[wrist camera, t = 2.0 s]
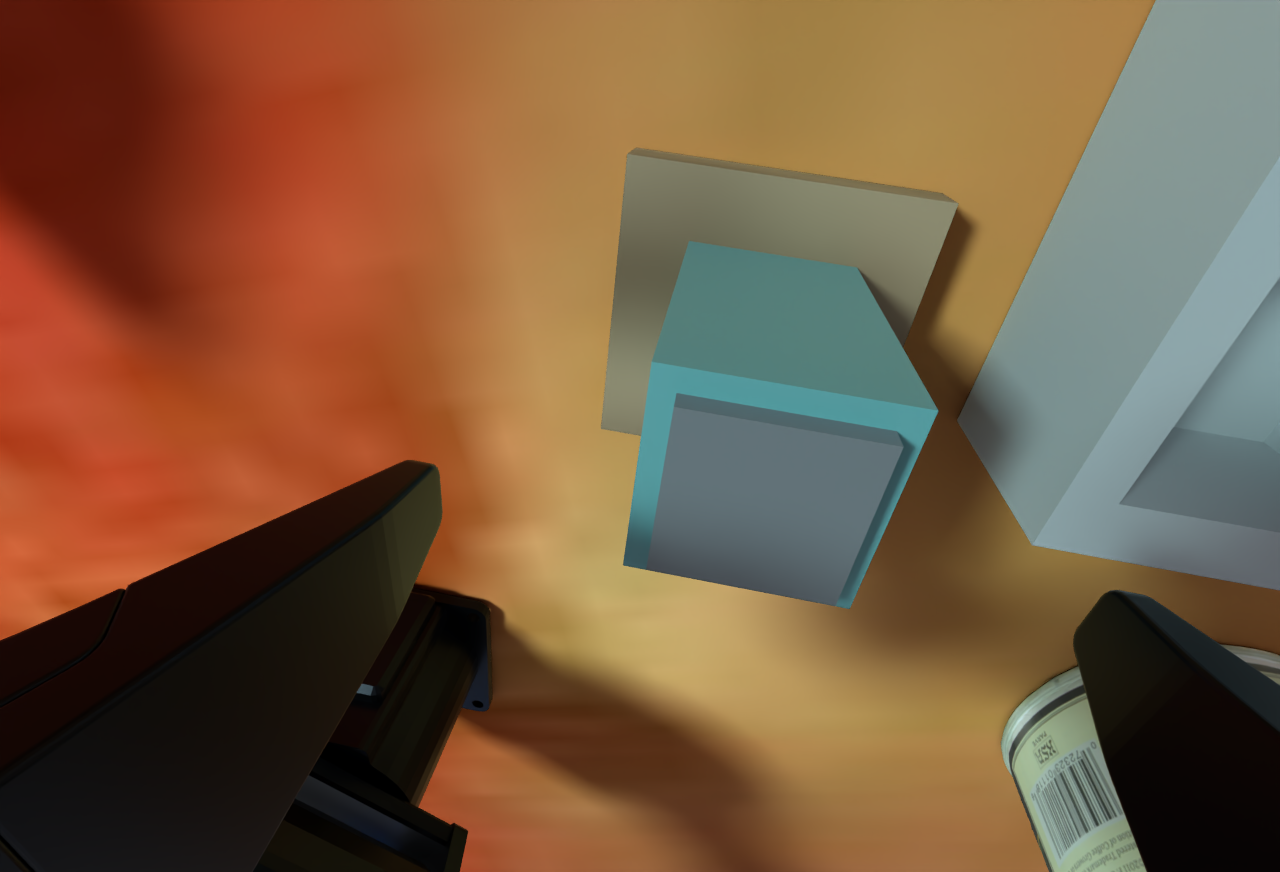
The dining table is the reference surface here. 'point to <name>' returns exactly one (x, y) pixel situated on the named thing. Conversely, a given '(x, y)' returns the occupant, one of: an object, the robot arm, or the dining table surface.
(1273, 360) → the socket block
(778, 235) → the beige square plate
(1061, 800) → the coffee can
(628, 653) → the dining table surface
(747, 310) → the plug
